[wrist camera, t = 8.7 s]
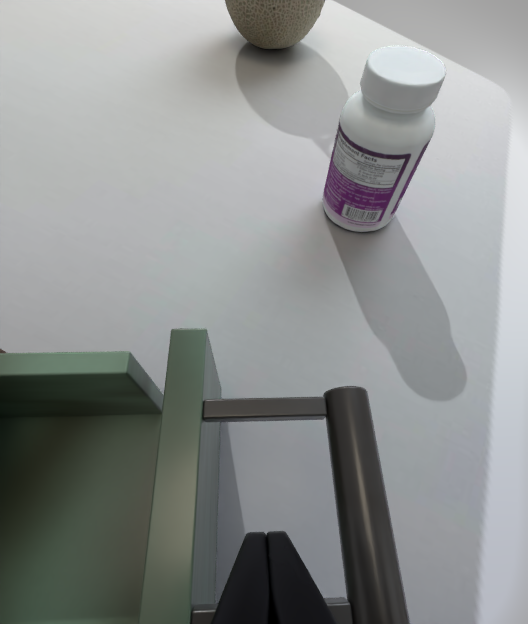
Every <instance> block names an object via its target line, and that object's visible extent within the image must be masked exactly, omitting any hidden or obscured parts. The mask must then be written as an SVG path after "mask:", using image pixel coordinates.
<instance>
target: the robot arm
mask: <svg viewBox="0 0 528 624" xmlns="http://www.w3.org/2000/svg"><path fill="white" fill-rule="evenodd" d="M210 624H338V623H337V621H336V619H335V618H334V616H333V614H332V612H331V611H330V609H329V607H328V605H327V604H326V602H325V600H324V598H323V597H322V595H321V593H320V591H319V589H318V588H317V586H316V584H315V582H314V581H313V579H312V577H311V575H310V574H309V572H308V570H307V568H306V567H305V565H304V563H303V561H302V559H301V558H300V556H299V554H298V552H297V551H296V549H295V547H294V545H293V544H292V542H291V540H290V538H289V537H288V535H287V534H286V532H284V531H273V532H268V533H267V535H266V534H265V533H264V532H250V533H247V534H246V536H245V538H244V541H243V543H242V546H241V548H240V551H239V553H238V556H237V558H236V561H235V563H234V566H233V568H232V571H231V573H230V576H229V578H228V581H227V583H226V586H225V588H224V591H223V593H222V596H221V598H220V601H219V603H218V606H217V608H216V611H215V613H214V616H213V618H212V621H211V623H210Z"/></svg>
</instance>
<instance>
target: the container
mask: <svg viewBox="0 0 528 624" xmlns="http://www.w3.org/2000/svg"><path fill="white" fill-rule="evenodd" d="M325 417H326V425H327V433H328V441H329V450H330V458H331V467H332V475H333V484H334V492H335V500H336V509H337V517H338V526H339V534H340V543H341V551H342V559H343V568H344V576H345V585H346V593H347V600H346V599H345V598H344V597H340V598H324V600H325V602H326V604H327V605H328V607H329V609H330V611H331V612H332V614H333V616H334V618H335V619H336V621H337V623H338V624H410V621H409V616H408V610H407V605H406V599H405V594H404V589H403V583H402V578H401V572H400V567H399V561H398V556H397V551H396V545H395V540H394V534H393V529H392V523H391V518H390V513H389V507H388V502H387V496H386V491H385V485H384V480H383V475H382V469H381V464H380V458H379V453H378V447H377V442H376V437H375V431H374V426H373V420H372V415H371V409H370V404H369V399H368V393H367V391H366V389H364V388H362V387H356V386H345V387H338V388H334V389H331V390H328V391H326V392H325V393H324V395H323V397H290V398H245V399H221V386H220V382H219V378H218V373H217V369H216V365H215V361H214V357H213V353H212V349H211V345H210V341H209V337H208V333H207V329H172V330H171V337H170V346H169V354H168V363H167V372H166V381H165V390H164V395H163V394H162V392H161V391H160V390H159V389H158V387H157V386H156V385H155V383H154V382H153V381H152V379H151V378H150V377H149V376H148V374H147V373H146V372H145V370H144V369H143V368H142V367H141V365H140V364H139V363H138V361H137V360H136V359H135V358H134V356H133V355H132V354H131V352H129V351H119V352H55V353H0V624H210V623H211V621H212V618H213V616H214V613H215V611H216V608H217V606H218V604H215V583H216V550H217V516H218V483H219V450H220V422H244V421H284V420H323V419H324V418H325Z"/></svg>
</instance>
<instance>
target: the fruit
mask: <svg viewBox="0 0 528 624" xmlns="http://www.w3.org/2000/svg"><path fill="white" fill-rule="evenodd" d="M225 2H226V6H227V9H228V12H229V14H230V16H231V19H232V20H233V23H234V25H235V26H236V28H237V30H238V31H239V32H240V33H241V35H242V36H243V37H244V38H245V39H246V40H247V41H249V42H250V43H252V44H253V45H255V46H257V47H261V48H264V49H281V48H287V47H290V46H292V45H294V44H296V43H297V42H299V41H300V40H302V39H303V38H304V37H305V36H306V35H307V33H308V32H309V31H310V29H311V28H312V27H313V25H314V23H315V22H316V20H317V18H318V17H319V16H320V12H321V10H322V7H323V5H324V2H325V0H225Z"/></svg>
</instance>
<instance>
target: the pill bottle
mask: <svg viewBox="0 0 528 624" xmlns="http://www.w3.org/2000/svg"><path fill="white" fill-rule="evenodd" d="M445 75H446V68H445V65H444V64H443V62H442V61H441V60H440V59H439V58H437V57H436V56H435V55H433V54H431V53H429V52H427V51H425V50H421V49H418V48H414V47H409V46H387V47H382V48H379V49H377V50H375V51H373V52H372V53H371V54H370V55H369V57H368V59H367V61H366V65H365V68H364V72H363V75H362V78H361V82H360V85H361V90H359V91H358V92H356V93H355V94H353V95H352V96H351V97H350V98H349V99H348V101H347V102H346V104H345V105H344V107H343V110H342V113H341V116H340V120H339V125H338V129H337V134H336V138H335V143H334V147H333V152H332V157H331V161H330V166H329V170H328V175H327V179H326V183H325V188H324V194H323V207H324V210H325V212H326V213H327V215H328V217H329V218H330V219H331V220H332V221H333V222H334V223H336V224H337V225H339V226H341V227H343V228H345V229H348V230H351V231H358V232H367V231H374V230H378V229H380V228H382V227H384V226H385V225H387V224H388V223H389V222H390V220H391V219H392V218H393V216H394V214H395V212H396V210H397V208H398V206H399V204H400V202H401V199H402V197H403V195H404V193H405V191H406V189H407V187H408V185H409V183H410V181H411V179H412V177H413V175H414V173H415V171H416V168H417V166H418V164H419V162H420V160H421V158H422V156H423V154H424V152H425V150H426V148H427V146H428V144H429V142H430V140H431V138H432V135H433V132H434V129H435V114H434V111H433V109H432V107H431V104H432V103H433V102H434V100H435V99H436V98H437V95H438V93H439V90H440V88H441V86H442V83H443V81H444V78H445Z"/></svg>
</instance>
